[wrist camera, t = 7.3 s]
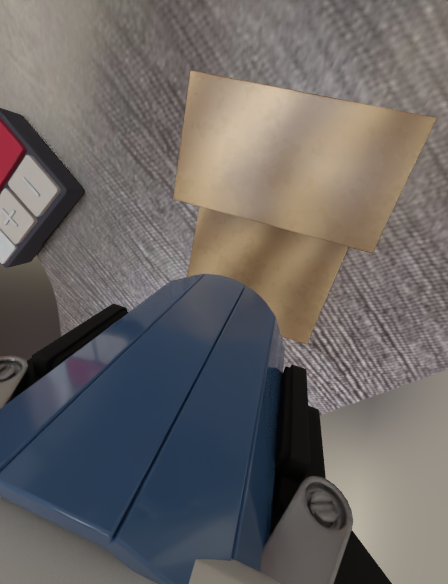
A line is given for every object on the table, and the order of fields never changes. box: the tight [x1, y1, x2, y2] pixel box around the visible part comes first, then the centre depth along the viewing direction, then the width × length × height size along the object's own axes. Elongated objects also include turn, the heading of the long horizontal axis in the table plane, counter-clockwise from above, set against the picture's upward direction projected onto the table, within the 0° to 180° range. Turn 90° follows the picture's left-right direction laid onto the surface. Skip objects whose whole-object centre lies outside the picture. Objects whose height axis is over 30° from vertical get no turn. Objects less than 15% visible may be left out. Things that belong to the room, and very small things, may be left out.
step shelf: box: [173, 71, 436, 344], centre depth 23 cm, size 13×18×11 cm
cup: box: [0, 274, 285, 584], centre depth 9 cm, size 7×7×10 cm
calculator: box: [0, 108, 84, 267], centre depth 32 cm, size 11×4×15 cm
